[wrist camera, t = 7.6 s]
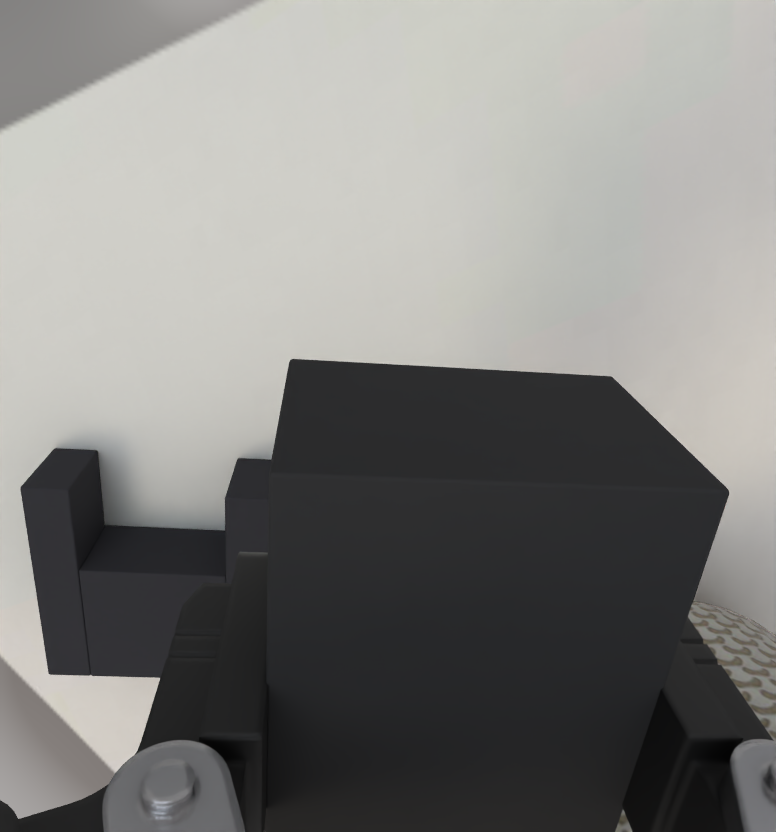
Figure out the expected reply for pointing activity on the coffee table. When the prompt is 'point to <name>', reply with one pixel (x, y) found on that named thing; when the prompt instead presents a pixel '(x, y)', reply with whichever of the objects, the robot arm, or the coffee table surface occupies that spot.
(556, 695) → the black rectangular block
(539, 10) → the coffee table surface
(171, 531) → the slotted pad
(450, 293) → the coffee table surface
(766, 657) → the planter
